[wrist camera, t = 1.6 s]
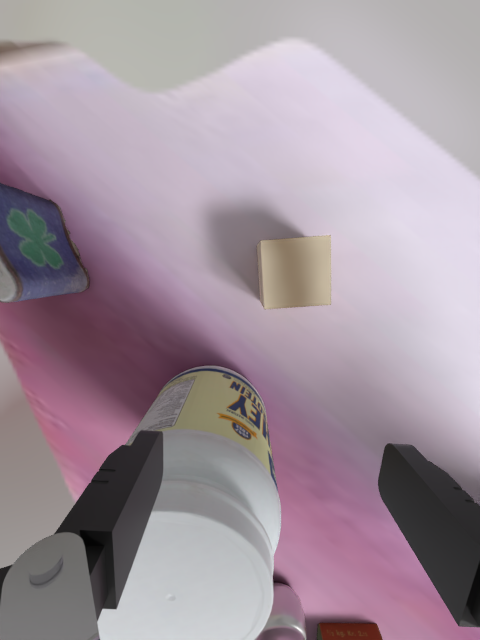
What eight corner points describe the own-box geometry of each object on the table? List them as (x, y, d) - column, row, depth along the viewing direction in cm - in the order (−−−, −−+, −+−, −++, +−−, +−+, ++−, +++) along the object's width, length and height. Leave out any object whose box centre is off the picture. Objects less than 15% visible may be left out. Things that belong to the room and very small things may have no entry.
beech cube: (312, 241, 26) (330, 235, 20) (313, 296, 27) (331, 304, 21) (256, 245, 26) (260, 240, 20) (259, 300, 27) (264, 309, 22)
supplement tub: (284, 429, 30) (337, 631, 13) (195, 475, 31) (142, 711, 15) (229, 340, 28) (209, 450, 11) (136, 394, 29) (-4, 562, 13)
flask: (95, 287, 27) (-1, 301, 16) (69, 296, 27) (-42, 315, 16) (57, 195, 25) (-78, 144, 15) (29, 205, 25) (-123, 161, 15)
